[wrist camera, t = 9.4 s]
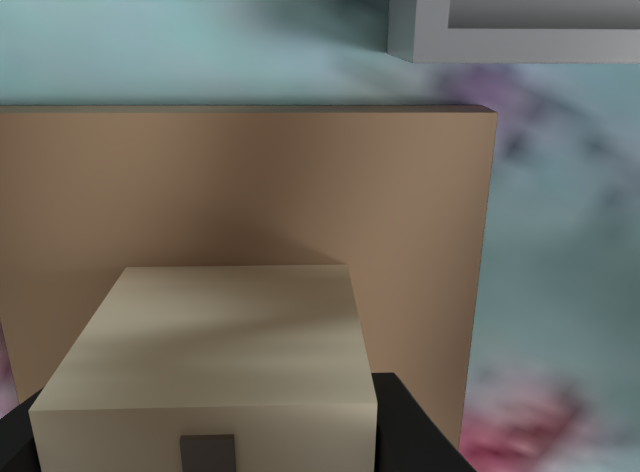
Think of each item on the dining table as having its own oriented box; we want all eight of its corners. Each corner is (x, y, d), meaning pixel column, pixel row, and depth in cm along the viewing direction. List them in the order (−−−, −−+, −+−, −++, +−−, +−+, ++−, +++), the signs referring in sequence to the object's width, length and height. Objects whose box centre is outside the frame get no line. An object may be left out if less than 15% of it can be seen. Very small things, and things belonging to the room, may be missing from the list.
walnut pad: (481, 104, 12) (497, 112, 11) (441, 483, 15) (450, 513, 14) (-18, 105, 11) (-46, 113, 10) (62, 494, 15) (46, 526, 14)
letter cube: (347, 264, 12) (378, 407, 7) (342, 439, 13) (366, 641, 9) (126, 267, 11) (24, 415, 7) (149, 444, 13) (77, 653, 9)
